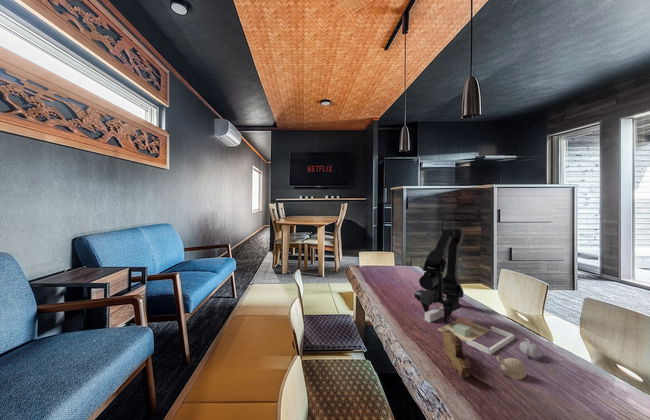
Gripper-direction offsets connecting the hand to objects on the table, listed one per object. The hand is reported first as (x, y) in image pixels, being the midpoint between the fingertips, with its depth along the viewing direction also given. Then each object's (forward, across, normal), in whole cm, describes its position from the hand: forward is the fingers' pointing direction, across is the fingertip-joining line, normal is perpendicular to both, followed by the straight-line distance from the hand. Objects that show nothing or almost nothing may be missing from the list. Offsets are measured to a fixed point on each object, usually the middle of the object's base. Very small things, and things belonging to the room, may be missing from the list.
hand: (435, 318), depth 112 cm
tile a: (0, +11, +3) cm, 11 cm away
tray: (+1, +22, 0) cm, 23 cm away
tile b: (0, +14, -3) cm, 14 cm away
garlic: (+1, +32, +4) cm, 33 cm away
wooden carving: (+1, +22, -22) cm, 31 cm away
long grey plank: (+1, 0, 0) cm, 1 cm away
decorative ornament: (+1, +34, -12) cm, 36 cm away
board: (+1, +12, 0) cm, 13 cm away
